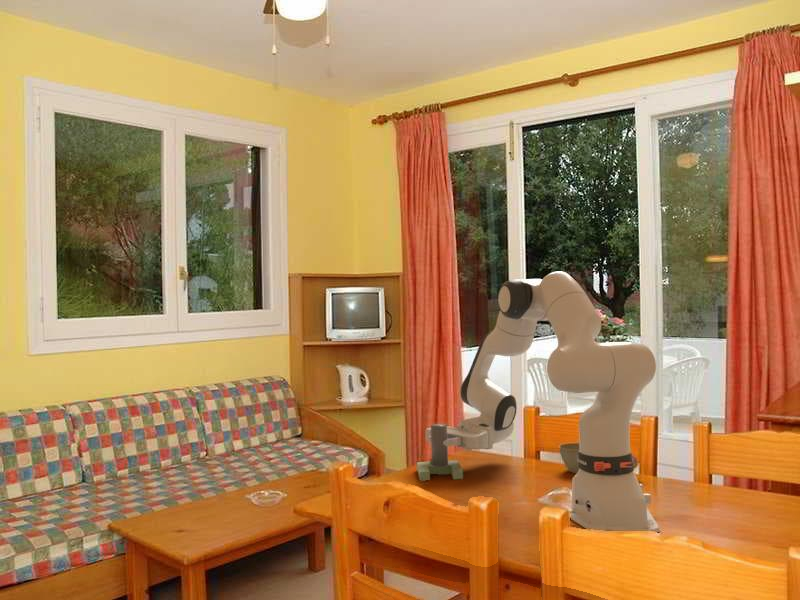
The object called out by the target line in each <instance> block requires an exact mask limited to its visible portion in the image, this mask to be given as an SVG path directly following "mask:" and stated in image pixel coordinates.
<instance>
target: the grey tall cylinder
mask: <svg viewBox="0 0 800 600" xmlns="http://www.w3.org/2000/svg"><path fill="white" fill-rule="evenodd" d="M447 426H448V425H447V424H445V423H434V424H431V425H430V428H431V443H430V445H431V458H432V465H433V466H446V465H448V461H449V455H448V453H449V452H448V450H449V449H448V446H443V440H444V439H447Z"/></svg>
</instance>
